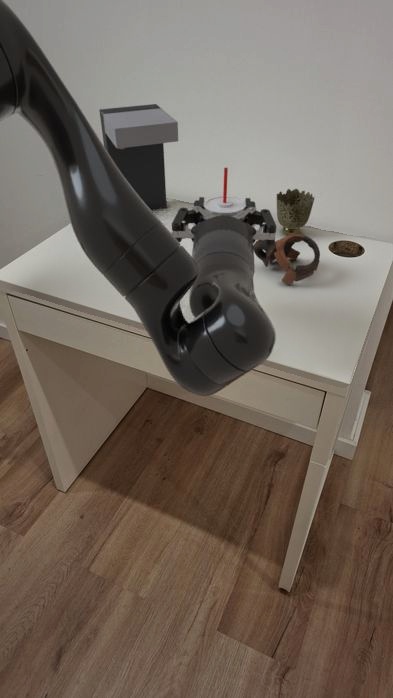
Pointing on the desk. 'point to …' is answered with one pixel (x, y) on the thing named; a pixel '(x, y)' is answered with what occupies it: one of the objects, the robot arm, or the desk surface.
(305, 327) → the desk surface
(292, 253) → the leather belt
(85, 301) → the desk surface
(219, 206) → the beverage cup
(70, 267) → the desk surface
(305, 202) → the cup
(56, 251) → the desk surface
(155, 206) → the coffee machine
